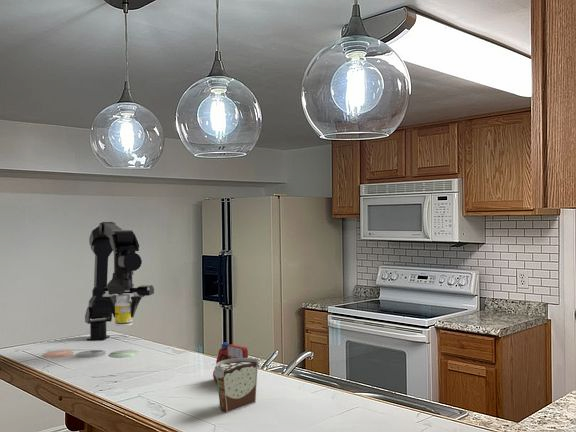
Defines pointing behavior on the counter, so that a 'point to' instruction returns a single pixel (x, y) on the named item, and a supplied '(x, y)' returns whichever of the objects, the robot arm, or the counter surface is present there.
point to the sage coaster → (124, 353)
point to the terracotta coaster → (58, 353)
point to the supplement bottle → (123, 310)
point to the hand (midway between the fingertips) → (123, 317)
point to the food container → (236, 383)
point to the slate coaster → (91, 353)
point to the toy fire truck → (230, 354)
